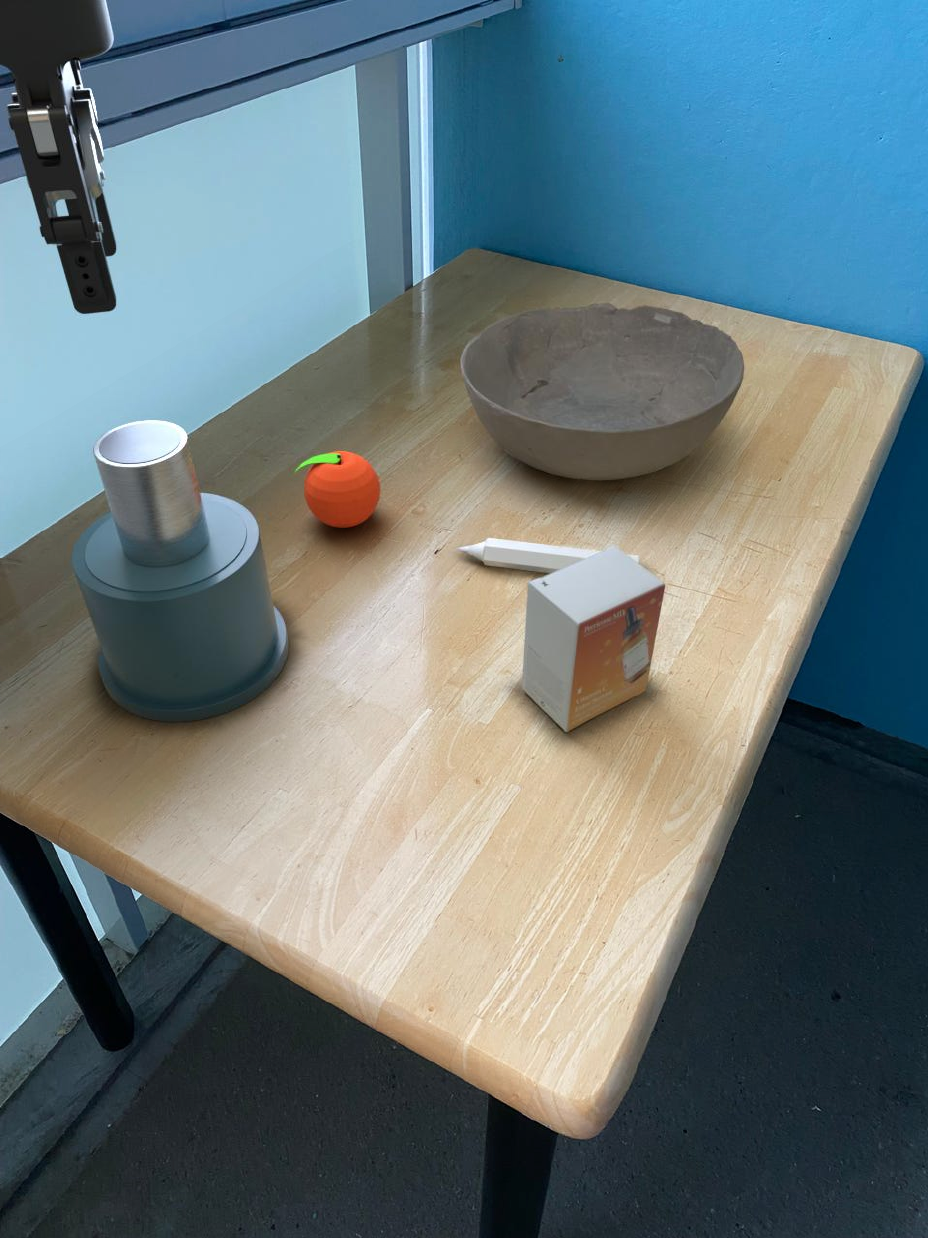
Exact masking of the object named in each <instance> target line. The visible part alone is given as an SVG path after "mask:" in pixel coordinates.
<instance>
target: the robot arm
mask: <svg viewBox="0 0 928 1238" xmlns="http://www.w3.org/2000/svg"><path fill="white" fill-rule="evenodd" d="M107 4H108V3H107V0H0V66H3V67H5V68H6V69H8V71H9V72H11V74H12V78H13V82H14V83H13V84H14V87H15V92H13V93H11V102H12V104H6V107H7V114H8V123H9V128H10V130H11V131H12V133H13V135H14V137H15V139H16V143H17V147H18V151H19V154H20V158H21V161H22V164H23V165H22V166H23V168H24V172H25V177H26V182H27V185H28V188H29V190H30V193H31V196H32V200H33V203H34V207H35V210H36V214H37V217H38V221H39V224H40V226H39V232H40V235H41V237H42V238H44V241H45V243H46V245H53V246H55V247H56V249H57V254H58V256H59V257H58V258H59V260H60V263H61V267H62V271H63V274H64V278H65V281H66V284H67V288H68V291H69V295H70V299H71V302H72V305H73V308H74V310H75V311H76V312H77V313H79V314H82V315H90V314H99V313H108V312H112V311H114V310H115V309H116V307H117V296H116V291H115V288H114V283H113V279H112V276H111V271H110V268H109V264H108V260H107V257H112V256H114V255H115V254H116V253H117V241H116V237H115V233H114V229H113V225H112V220H111V217H110V213H109V208H108V205H107V201H106V195H105V192H104V187H105V181H106V176H105V172H104V170H102V168H101V167H102V166H103V165H102V163H103V162H104V160H105V157H104V156H105V155H104V151H103V143H102V139H101V134H100V133H99V128H98V124H99V121H98V115H97V109H96V103H95V102H96V101H95V98H94V96H93V93H92V89H91V88H84V85H83V81H82V77H81V73H80V72H81V71H82V67H81V63H80V62H82V61H86V60H89V59H93V58H96V57H99V56H101V55H104V54H105V53H107V52H108V51H110V49H111V48H112V46H113V44H114V40H115V37H114V31H113V27H112V22H111V18H110V14H109V9H108V5H107ZM61 200H64V203H65V206H66V207H65V208H66V211H67V213H68V215H58V210H57V203H58V201H61Z"/></svg>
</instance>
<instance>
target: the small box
mask: <svg viewBox="0 0 928 1238" xmlns="http://www.w3.org/2000/svg"><path fill="white" fill-rule="evenodd" d="M600 551H601V552H599V553H597V554H595V555H592V556H590V557H588V558H586V559H583V560H581V561H579V562H576V563H574V564H572V565H570V566H567V567H565V568H562V569H560V570H558V571H555V572H553V573H547V574H546V575H543V576H541V577H537V578H534V579H533V580H530V581H528V582H527V592H526V609H525V625H524V626H525V627H524V641H523V642H524V643H523V657H522V658H523V660H522V662H523V663H522V674H521V675H522V676H521V689H522V691H523V692H525V693H526V694H527V695H528V696H529V697H530V698H531V699H532V700H533V701H534V702H535V703H536V705H538V706H539V707H540V708H541V709H542V710H543V711H544V712H545V714H547V715H548V716H549V717H550V719H552V720H553V721H554V722H555V723H556V724H557V725H558V726H559V727H560V728H561V729H562V730H563V731H564V732H565V733H568V732H570V731H572V730H574V729H575V728H578V727H579V726H581V725H582V724H584V723H586V722H588V721H589V720H591V719H593V718H595V717H597V716H599V715H601V714H603V713H605V712H607V711H610V710H611V709H613V708H615V707H616V706H619V705H620V704H622V703H625V702H626V701H628V700H630V699H632V698H634V697H637V696H639V695H641V694H643V693H645V692H646V690H647V688H648V682H649V677H650V671H651V666H652V662H653V661H652V660H653V655H654V649H655V644H656V639H657V634H658V633H657V631H658V628H659V622H660V617H661V611H662V605H663V601H664V597H665V591H666V584H665V582H663V581H662V580H661V579H660V578H658V577H657V576H656V575H655V574H653V573H652V572H651V571H650V570H648V568H647V569H646V568H645V567H644V566H643V565H642V564H641V563H640V562H638V563H637V562H636V561H635V560H634V559H632V558H631V557H630V556H628V555H629V554H628V553H626V552H624V551H623V550H622V549H621V548H619V547H618V546H617V545H614V544H613V545H611V546H609V547H607V548H605V549H603V550H600ZM627 554H628V555H627Z"/></svg>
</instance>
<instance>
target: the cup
mask: <svg viewBox="0 0 928 1238" xmlns="http://www.w3.org/2000/svg"><path fill="white" fill-rule="evenodd" d="M190 446H191V445H190V441H189V438H188V433H187V432H186V430H185V429H184V428H182V427H181V426H180V425H178V424H175V423H173V422H169V421H165V420H140V421H133V422H129V423H125V424H122V425H119V426H117V427H114V428H112V429H109V430H108V431H107V432H105V433H103V434H102V435H101V436H100V437H99V438H98V439H97V440H96V441H95V443H94V445H93V448H92V453H93V458H94V460H95V464H96V467H97V470H98V473H99V476H100V480H101V482H102V486H103V489H104V494H105V496H106V499H107V503H108V506H109V510H110V511H111V513H112V516H113V519H114V522H115V526H116V529H117V532H118V535H119V539H120V542H121V545H122V549H123V552H124V554H125V555H126V557H127V558H128V559H129V560H131V561H132V562H134V563H136V564H139V565H142V566H148V567H164V566H171V565H175V564H179V563H182V562H185V561H187V560H189V559H191V558H193V557H194V556H196V555H197V554H199V553H200V552H201V551H202V550H203V549H204V548H205V547H206V545H207V543H208V541H209V537H210V535H209V529H208V525H207V521H206V516H205V512H204V507H203V503H202V499H201V494H200V493H201V490H200V486H199V485H200V484H199V481H198V477H197V473H196V469H195V464H194V458H193V455H192V450H191V447H190Z"/></svg>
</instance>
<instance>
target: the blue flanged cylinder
mask: <svg viewBox="0 0 928 1238" xmlns="http://www.w3.org/2000/svg"><path fill="white" fill-rule="evenodd" d="M200 494H201V499H202V503H203V507H204V512H205V516H206V521H207V525H208V529H209V535H210V537H209V541H208V543H207V545H206V547H205V548H204V549H203V550H202V551H201V552H200V553H199V554H197V555H196V556H194V557H193V558H191V559H189V560H187V561H185V562H182V563H179V564H175V565H171V566H164V567H148V566H142V565H139V564H136V563H134V562H132V561H131V560H129V559H128V558H127V557H126V555H125V554H124V552H123V549H122V545H121V542H120V539H119V535H118V532H117V529H116V526H115V522H114V519H113V516H112V513H111V510H110V511H108V512H106V513H105V514H104V515H102V516H100V517H99V518H98V519H96V520H95V521H93V522H92V523H91V524H90V525H89V526H88V527H87V528H86V529H85V530H84V531H83V532H82V534H81V535H80V536H79V538H78V539H77V541H76V542H75V545H74V548H73V549H72V554H71V566H72V570H73V572H74V575H75V579H76V580H77V584H78V587H79V590H80V592H81V595H82V598H83V601H84V603H85V606H86V610H87V613H88V614H89V618H90V620H91V623H92V626H93V629H94V631H95V634H96V637H97V641H98V642H99V646H100V649H99V653H98V659H97V664H98V666H97V667H98V671H99V675H100V678H101V680H102V684H103V685H104V689H105V690H106V693H107V694H108V696H109V698H111V699H112V700H113V702H115V703H116V704H117V705H118V706H119V707H120V708H122V709H124V710H125V711H127V712H129V713H130V714H133V715H135V716H138V717H141V718H144V719H148V720H150V721H158V722H170V723H181V722H182V723H183V722H193V721H199V720H200V721H201V720H206V719H209V718H213V717H217V716H219V715H222V714H226V713H228V712H232V711H233V710H235V709H238V708H240V707H242V706H244V705H245V704H247V703H249V702H250V701H253V699H255V698H257V697H258V696H259V695H261V694H262V693H263V692H264V691H265V690H266V689H268V688H269V687H270V686H271V685H272V683H274V681H275V680H276V679H277V678H278V676H279V675H280V674H281V672H282V670H283V668H284V666H285V664H286V662H287V658H288V654H289V648H290V644H289V642H290V641H289V635H288V629H287V625H286V621H285V619H284V617H283V615H282V613H281V612H280V611H279V609H278V608H277V607H276V606H275V605H274V602H273V597H272V591H271V585H270V580H269V574H268V570H267V563H266V559H265V553H264V552H265V551H264V548H263V547H264V546H263V543H262V537H261V531H260V526H259V523H258V521H257V520H256V518H255V516H254V514H253V513H252V512H251V511H250V510H249V509H248V508H247V507H245V506H244V505H243V504H241V503H239V502H237V501H235V500H233V499H231V498H228V497H226V496H222V495H219V494H214V493H208V492H200Z"/></svg>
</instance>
